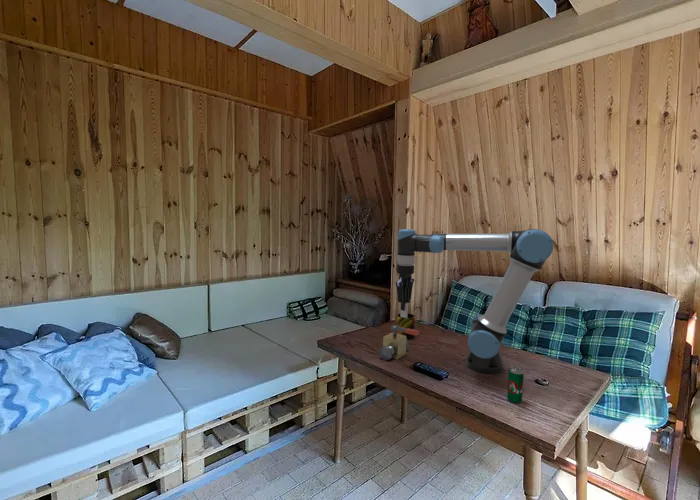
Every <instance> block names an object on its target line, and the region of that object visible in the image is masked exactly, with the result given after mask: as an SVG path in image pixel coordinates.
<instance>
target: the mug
mask: <svg viewBox="0 0 700 500" xmlns="http://www.w3.org/2000/svg"><path fill="white" fill-rule="evenodd" d="M396 315H397V316H396V325H398V326H399V327H402V328H409V329H413V330H416V329H415V326H416V325H415V323H416V315H415V314H413V313H408V315H407V318H404V317H400V315H401V313H398V314H396ZM397 334H400V335H404V336H406V339H407V340H408V341H411V340H414V339H415V335H412V334H408V333H405V332H402V331H398V330H397Z"/></svg>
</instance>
